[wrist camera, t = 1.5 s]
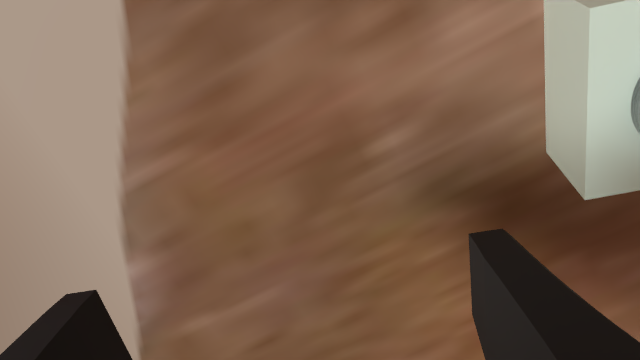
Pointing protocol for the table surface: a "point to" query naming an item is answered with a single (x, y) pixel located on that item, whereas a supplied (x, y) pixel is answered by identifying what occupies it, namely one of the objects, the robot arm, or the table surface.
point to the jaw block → (593, 93)
